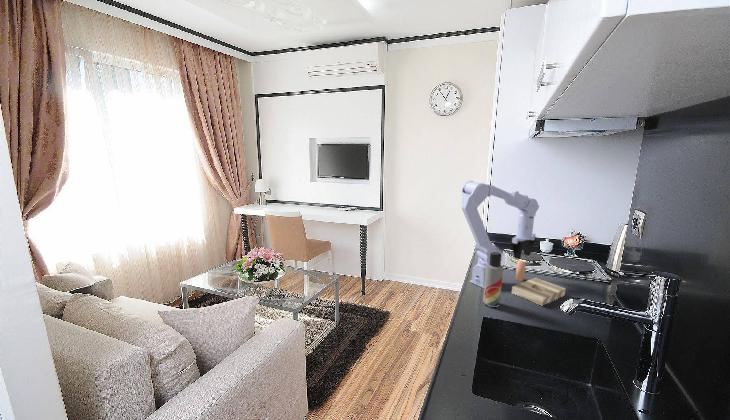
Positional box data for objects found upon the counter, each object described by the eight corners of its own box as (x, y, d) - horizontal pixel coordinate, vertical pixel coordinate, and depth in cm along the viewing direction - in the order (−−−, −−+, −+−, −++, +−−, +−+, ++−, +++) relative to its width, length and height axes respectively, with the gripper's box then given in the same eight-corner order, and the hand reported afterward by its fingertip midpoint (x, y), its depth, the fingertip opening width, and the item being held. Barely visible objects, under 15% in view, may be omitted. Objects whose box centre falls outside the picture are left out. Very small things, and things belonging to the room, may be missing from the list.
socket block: (542, 306, 113) (543, 299, 112) (511, 293, 123) (512, 286, 122) (564, 295, 121) (565, 288, 121) (534, 284, 131) (535, 277, 131)
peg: (520, 281, 134) (522, 264, 132) (513, 279, 136) (515, 261, 135) (525, 280, 135) (527, 262, 134) (518, 277, 138) (520, 260, 136)
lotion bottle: (496, 310, 111) (501, 256, 107) (480, 304, 114) (484, 253, 110) (501, 304, 115) (506, 252, 111) (486, 299, 119) (490, 249, 115)
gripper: (525, 230, 124) (521, 263, 127) (544, 225, 132) (540, 256, 135) (508, 226, 129) (505, 257, 132) (527, 222, 137) (524, 251, 140)
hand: (521, 256), depth 134 cm, fingers open, 7 cm apart
